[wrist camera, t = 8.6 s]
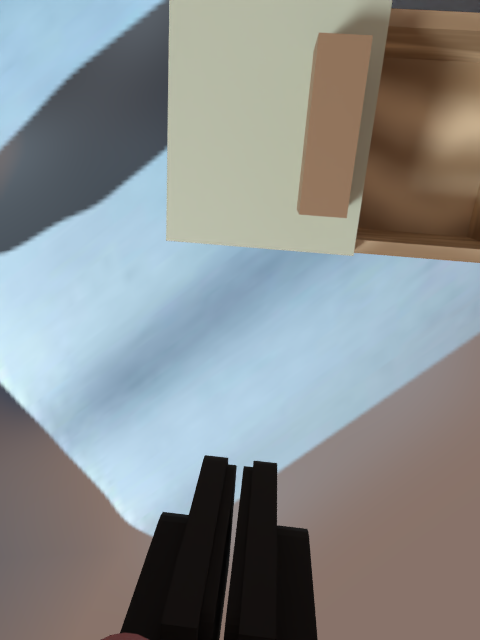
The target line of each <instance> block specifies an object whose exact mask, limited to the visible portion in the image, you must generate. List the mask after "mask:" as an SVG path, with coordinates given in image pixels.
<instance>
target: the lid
mask: <svg viewBox="0 0 480 640" xmlns="http://www.w3.org/2000/svg"><path fill="white" fill-rule="evenodd" d="M169 5H170V6H169V77H168V82H169V83H168V152H167V227H166V241H178V242H190V243H203V244H215V245H227V246H239V247H251V248H264V249H276V250H288V251H300V252H313V253H325V254H337V255H349V256H353V255H354V248H355V242H356V235H357V229H358V222H359V215H360V209H361V202H362V196H363V189H364V183H365V176H366V170H367V163H368V157H369V150H370V143H371V137H372V130H373V124H374V117H375V111H376V104H377V98H378V91H379V85H380V78H381V72H382V65H383V58H384V52H385V45H386V39H387V32H388V26H389V19H390V13H391V6H392V0H169Z"/></svg>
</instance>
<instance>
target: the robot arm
mask: <svg viewBox="0 0 480 640" xmlns="http://www.w3.org/2000/svg"><path fill="white" fill-rule="evenodd" d="M235 480H236V465H228V458H224V457H215V456H206V455H205V456H204V459H203V463H202V467H201V471H200V475H199V479H198V482H197V486H196V490H195V494H194V498H193V502H192V505H191V509H190V513H189V515H184V514H175V513H167V512H163V513H162V514H161V516H160V519H159V521H158V524H157V527H156V530H155V533H154V536H153V539H152V542H151V545H150V547H149V550H148V553H147V556H146V559H145V562H144V565H143V568H142V571H141V574H140V577H139V579H138V582H137V585H136V588H135V591H134V594H133V597H132V600H131V603H130V606H129V609H128V611H127V614H126V618H125V620H124V623H123V626H122V629H121V632H120V633H119V634H114V635H110V636H108V637H106V638H104V639H101V640H219V638H220V630H221V622H222V614H223V607H224V598H225V591H226V583H227V575H228V566H229V556H230V543H231V531H232V517H233V506H234V493H235ZM224 640H317V629H316V617H315V604H314V592H313V580H312V568H311V556H310V544H309V534H308V530H307V529H303V528H294V527H286V526H277V463H270V462H261V461H254V463H253V467H246V466H244V469H243V478H242V486H241V495H240V503H239V512H238V521H237V529H236V537H235V546H234V554H233V562H232V571H231V579H230V588H229V596H228V605H227V613H226V623H225V632H224Z"/></svg>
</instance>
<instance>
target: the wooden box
mask: <svg viewBox="0 0 480 640" xmlns="http://www.w3.org/2000/svg"><path fill="white" fill-rule="evenodd" d="M354 253H365V254H377V255H389V256H402V257H414V258H426V259H438V260H451V261H463V262H475V263H480V13H473V12H453V11H433V10H413V9H393V8H391V13H390V19H389V26H388V32H387V39H386V45H385V52H384V58H383V65H382V72H381V78H380V85H379V91H378V98H377V104H376V111H375V117H374V124H373V130H372V137H371V143H370V150H369V157H368V163H367V170H366V176H365V183H364V189H363V196H362V202H361V209H360V215H359V222H358V229H357V235H356V242H355V248H354Z"/></svg>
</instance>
